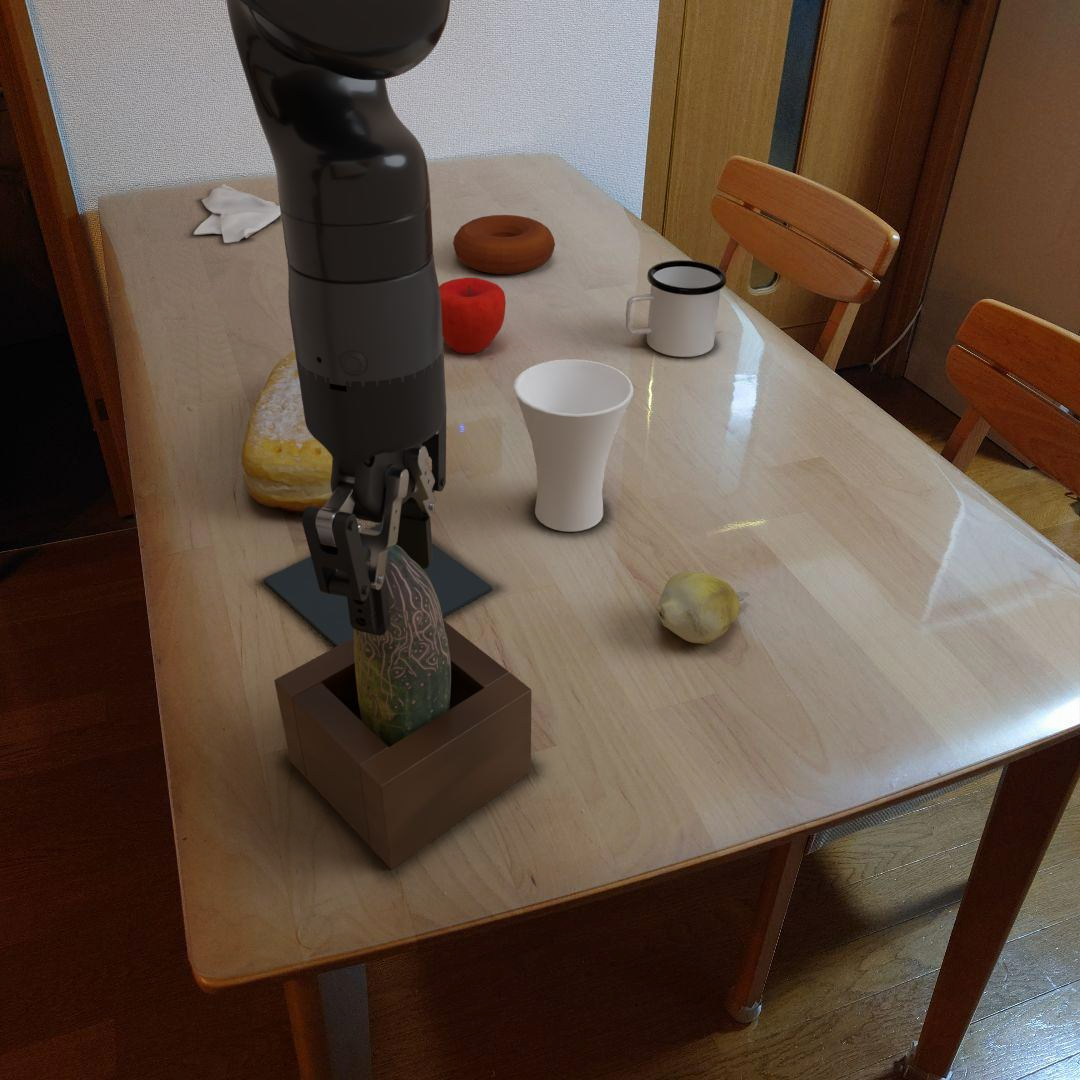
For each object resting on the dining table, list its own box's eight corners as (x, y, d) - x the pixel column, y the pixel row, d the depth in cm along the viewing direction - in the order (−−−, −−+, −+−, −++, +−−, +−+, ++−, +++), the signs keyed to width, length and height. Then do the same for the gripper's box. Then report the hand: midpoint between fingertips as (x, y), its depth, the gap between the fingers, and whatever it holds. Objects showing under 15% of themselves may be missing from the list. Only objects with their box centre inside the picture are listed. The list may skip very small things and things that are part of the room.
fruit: (774, 622, 84) (696, 664, 77) (716, 606, 88) (638, 644, 82) (773, 557, 82) (694, 593, 76) (714, 543, 86) (635, 577, 80)
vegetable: (351, 756, 71) (317, 526, 60) (430, 722, 74) (413, 496, 62) (388, 815, 67) (360, 581, 55) (470, 776, 70) (460, 546, 58)
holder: (391, 870, 64) (380, 786, 59) (290, 761, 71) (273, 679, 66) (531, 771, 70) (531, 689, 66) (426, 681, 78) (419, 601, 73)
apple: (518, 354, 123) (519, 293, 119) (452, 368, 120) (450, 306, 115) (488, 326, 130) (487, 267, 125) (424, 339, 126) (420, 279, 122)
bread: (231, 526, 94) (216, 453, 89) (274, 391, 115) (263, 326, 110) (376, 522, 94) (369, 449, 90) (392, 389, 116) (387, 324, 111)
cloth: (281, 240, 154) (278, 226, 152) (187, 245, 152) (184, 230, 150) (286, 187, 174) (284, 174, 173) (204, 191, 172) (202, 177, 171)
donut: (517, 235, 156) (517, 203, 153) (574, 265, 147) (576, 231, 144) (434, 255, 149) (433, 221, 146) (489, 287, 140) (489, 252, 137)
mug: (702, 324, 131) (710, 257, 125) (729, 356, 123) (738, 286, 118) (613, 332, 128) (617, 264, 123) (635, 365, 121) (640, 294, 116)
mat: (356, 665, 79) (355, 662, 79) (263, 582, 87) (263, 578, 87) (492, 590, 87) (492, 586, 86) (395, 520, 95) (395, 516, 95)
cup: (596, 557, 90) (604, 426, 82) (494, 526, 94) (491, 397, 86) (640, 499, 98) (651, 374, 90) (544, 472, 102) (546, 349, 94)
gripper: (363, 281, 58) (386, 520, 68) (229, 394, 47) (280, 660, 57) (486, 298, 56) (491, 540, 66) (377, 420, 45) (403, 689, 55)
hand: (393, 594), depth 61 cm, fingers open, 6 cm apart
